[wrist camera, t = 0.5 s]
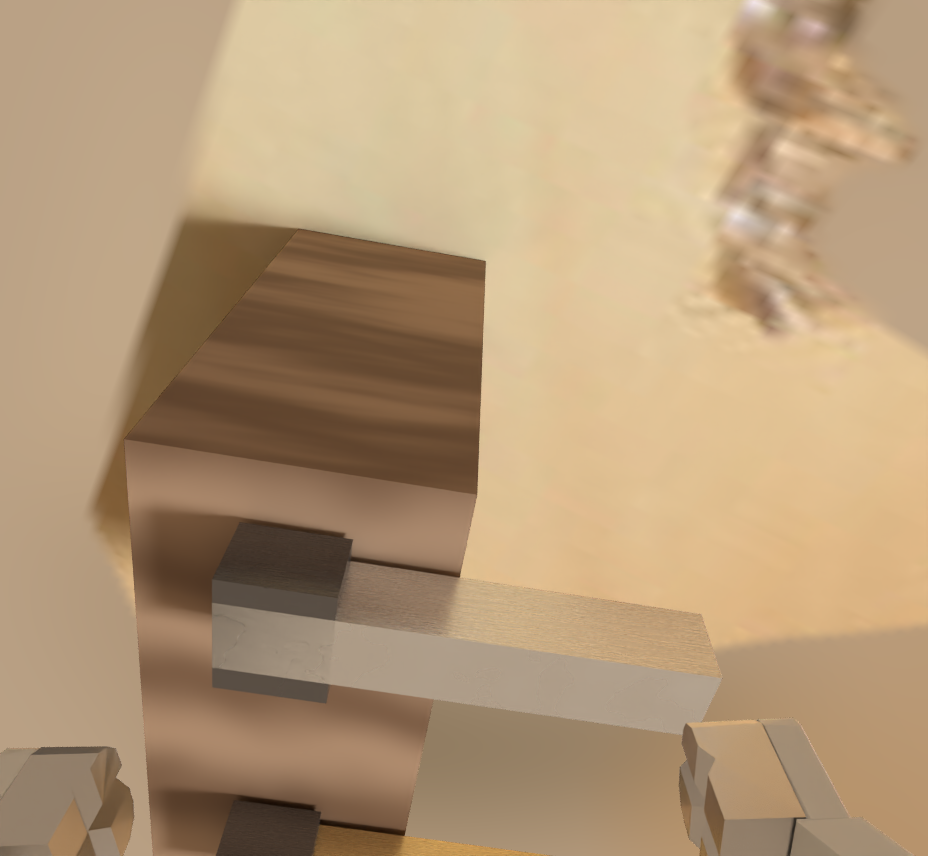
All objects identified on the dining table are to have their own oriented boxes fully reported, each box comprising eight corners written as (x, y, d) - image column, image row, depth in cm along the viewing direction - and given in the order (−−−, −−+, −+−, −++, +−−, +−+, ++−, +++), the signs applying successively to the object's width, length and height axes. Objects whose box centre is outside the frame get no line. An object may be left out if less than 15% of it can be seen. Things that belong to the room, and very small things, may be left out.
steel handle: (239, 522, 27) (212, 579, 24) (710, 594, 27) (732, 657, 25) (237, 625, 29) (211, 687, 26) (668, 688, 30) (685, 754, 27)
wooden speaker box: (271, 224, 48) (72, 430, 25) (485, 261, 49) (477, 494, 26) (259, 544, 61) (120, 869, 38) (428, 569, 61) (389, 904, 39)
